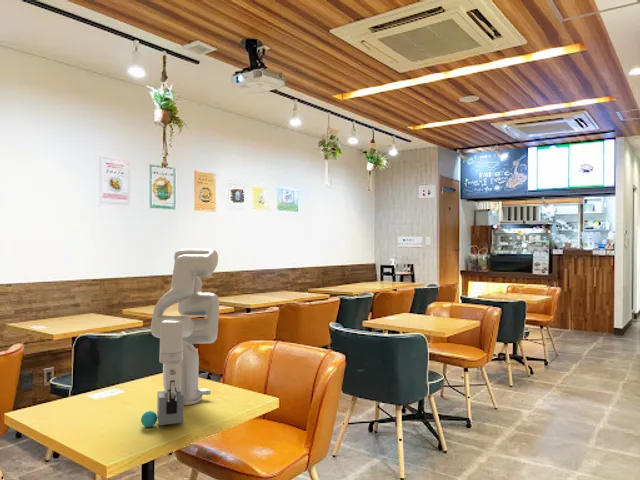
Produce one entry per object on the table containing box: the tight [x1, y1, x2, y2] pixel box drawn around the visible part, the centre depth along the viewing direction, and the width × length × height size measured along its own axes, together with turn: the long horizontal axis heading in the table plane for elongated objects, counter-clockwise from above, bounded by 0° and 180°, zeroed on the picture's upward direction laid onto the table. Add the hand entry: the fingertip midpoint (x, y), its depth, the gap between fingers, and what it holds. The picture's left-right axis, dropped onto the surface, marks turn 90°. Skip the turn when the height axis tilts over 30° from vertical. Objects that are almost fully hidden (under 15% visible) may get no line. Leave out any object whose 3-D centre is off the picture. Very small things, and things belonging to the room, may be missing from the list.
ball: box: [140, 410, 158, 428], centre depth 162 cm, size 5×5×5 cm
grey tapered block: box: [156, 390, 185, 426], centre depth 164 cm, size 8×8×9 cm
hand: (170, 409), depth 164 cm, fingers closed on grey tapered block, 7 cm apart
